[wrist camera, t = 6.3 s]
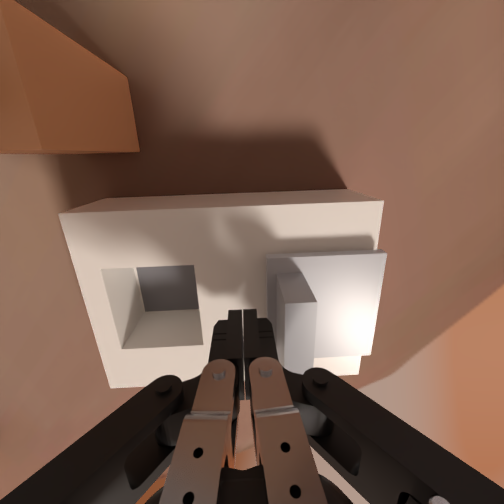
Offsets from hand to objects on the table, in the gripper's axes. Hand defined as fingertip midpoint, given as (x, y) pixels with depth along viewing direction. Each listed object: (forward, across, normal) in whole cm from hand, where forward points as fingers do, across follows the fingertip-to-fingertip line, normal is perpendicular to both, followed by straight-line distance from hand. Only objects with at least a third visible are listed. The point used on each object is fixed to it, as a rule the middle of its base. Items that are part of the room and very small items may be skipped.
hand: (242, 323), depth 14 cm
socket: (+7, +1, 0) cm, 7 cm away
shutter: (+2, -5, 0) cm, 5 cm away
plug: (+7, +8, -11) cm, 15 cm away
